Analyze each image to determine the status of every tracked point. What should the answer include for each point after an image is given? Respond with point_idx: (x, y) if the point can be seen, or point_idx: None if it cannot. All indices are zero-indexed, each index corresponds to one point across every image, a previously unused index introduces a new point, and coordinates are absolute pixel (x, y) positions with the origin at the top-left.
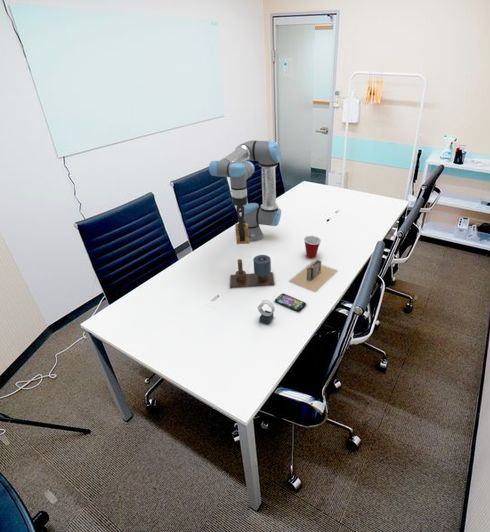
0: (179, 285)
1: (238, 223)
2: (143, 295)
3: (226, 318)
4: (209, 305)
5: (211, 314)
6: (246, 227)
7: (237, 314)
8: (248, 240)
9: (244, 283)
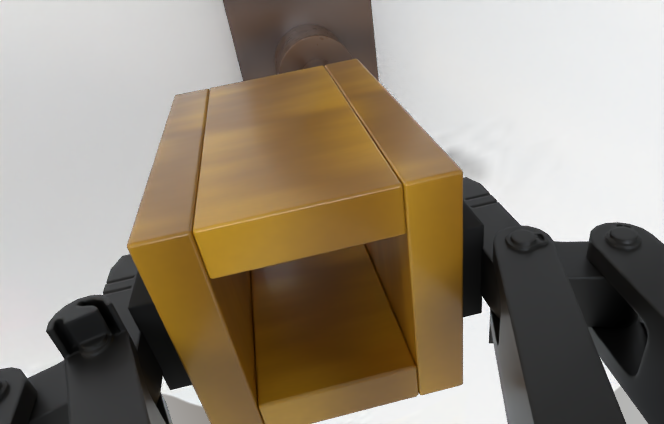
0: None
1: (215, 407)
2: (418, 411)
3: (629, 71)
4: (515, 176)
5: (582, 149)
6: (420, 211)
7: (616, 18)
8: (372, 75)
9: (356, 28)
